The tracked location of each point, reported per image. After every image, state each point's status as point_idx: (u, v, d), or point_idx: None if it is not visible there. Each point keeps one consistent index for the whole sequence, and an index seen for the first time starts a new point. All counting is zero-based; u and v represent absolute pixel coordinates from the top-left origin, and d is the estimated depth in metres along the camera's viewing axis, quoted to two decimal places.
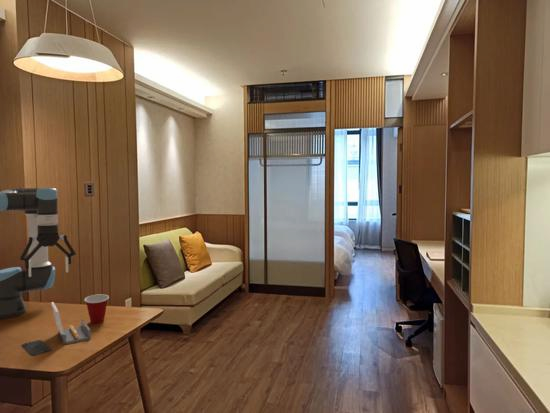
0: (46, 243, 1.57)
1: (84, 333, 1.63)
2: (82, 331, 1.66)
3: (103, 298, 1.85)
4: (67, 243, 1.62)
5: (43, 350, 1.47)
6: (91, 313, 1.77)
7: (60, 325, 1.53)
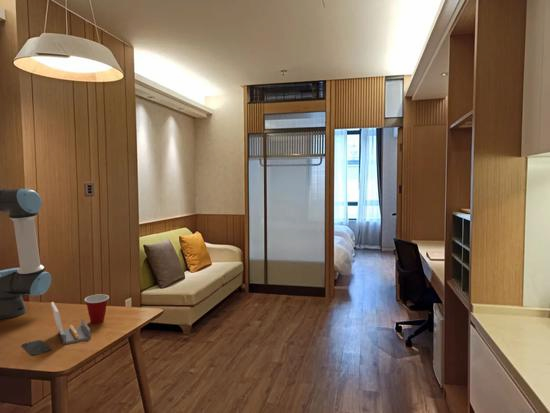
0: None
1: (84, 333, 1.63)
2: (82, 331, 1.66)
3: (103, 298, 1.85)
4: None
5: (43, 350, 1.47)
6: (91, 313, 1.77)
7: (60, 325, 1.53)
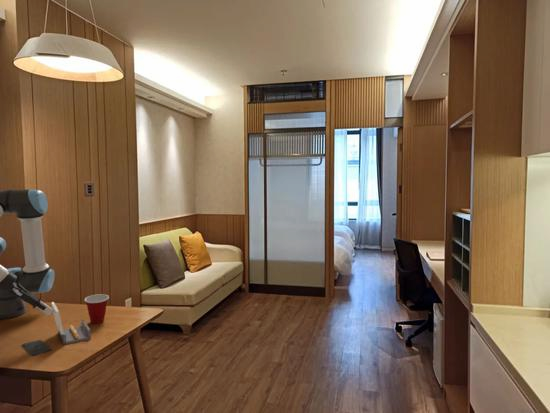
0: None
1: (84, 333, 1.63)
2: (82, 331, 1.66)
3: (103, 298, 1.85)
4: (22, 299, 1.47)
5: (43, 350, 1.47)
6: (91, 313, 1.77)
7: (60, 325, 1.53)
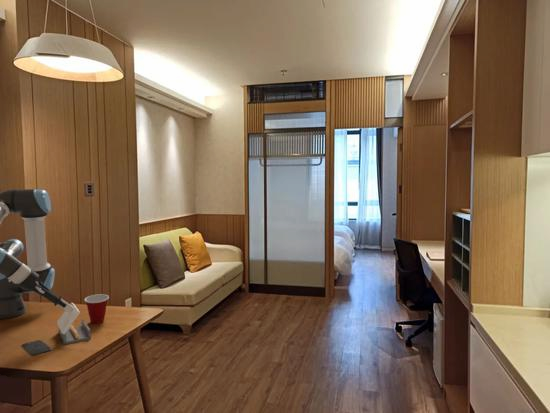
0: None
1: (84, 333, 1.63)
2: (82, 331, 1.66)
3: (103, 298, 1.85)
4: None
5: (43, 350, 1.47)
6: (91, 313, 1.77)
7: (69, 325, 1.55)
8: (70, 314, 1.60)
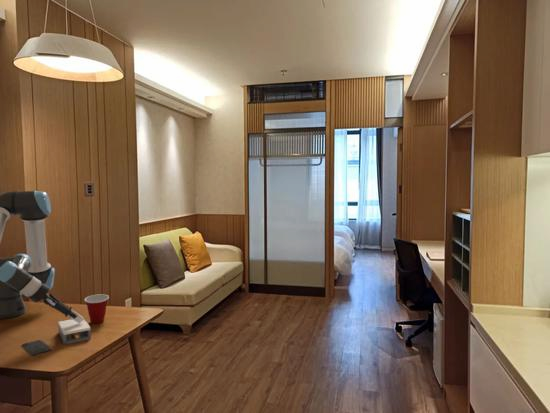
0: None
1: (84, 333, 1.63)
2: (82, 331, 1.66)
3: (103, 298, 1.85)
4: (55, 308, 1.54)
5: (43, 350, 1.47)
6: (91, 313, 1.77)
7: (74, 331, 1.56)
8: (79, 324, 1.62)
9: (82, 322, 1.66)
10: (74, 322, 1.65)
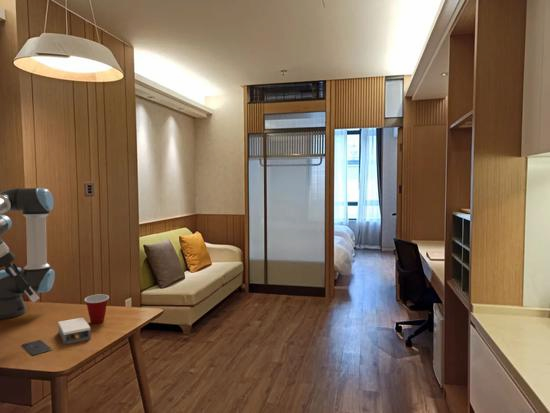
0: (10, 272, 1.52)
1: (84, 333, 1.63)
2: (82, 331, 1.66)
3: (103, 298, 1.85)
4: (14, 279, 1.49)
5: (43, 350, 1.47)
6: (91, 313, 1.77)
7: (74, 331, 1.56)
8: (79, 324, 1.62)
9: (82, 322, 1.66)
10: (74, 322, 1.65)
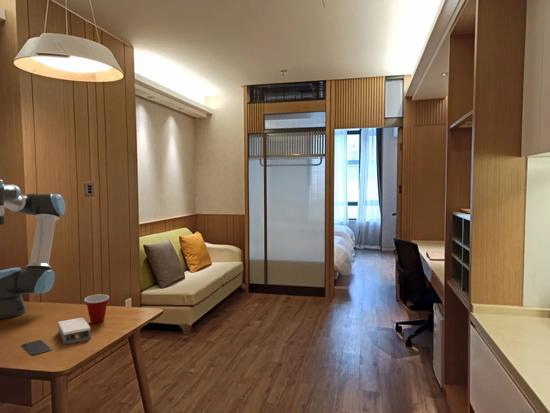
0: None
1: (84, 333, 1.63)
2: (82, 331, 1.66)
3: (103, 298, 1.85)
4: None
5: (43, 350, 1.47)
6: (91, 313, 1.77)
7: (74, 331, 1.56)
8: (79, 324, 1.62)
9: (82, 322, 1.66)
10: (74, 322, 1.65)
